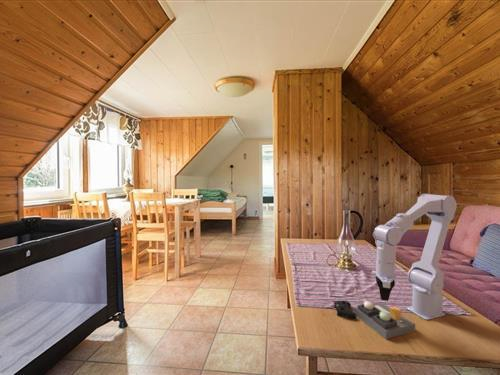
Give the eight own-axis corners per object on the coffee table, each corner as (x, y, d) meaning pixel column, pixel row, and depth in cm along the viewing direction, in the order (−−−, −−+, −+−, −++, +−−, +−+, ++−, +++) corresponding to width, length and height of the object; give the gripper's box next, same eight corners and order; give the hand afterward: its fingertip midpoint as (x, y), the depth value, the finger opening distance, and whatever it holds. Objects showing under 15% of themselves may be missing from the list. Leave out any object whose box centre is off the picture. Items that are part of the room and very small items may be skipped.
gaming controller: (358, 318, 87) (346, 305, 87) (347, 327, 88) (334, 315, 88) (351, 303, 97) (340, 292, 97) (341, 312, 97) (330, 301, 98)
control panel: (380, 308, 94) (380, 298, 94) (414, 331, 81) (415, 319, 81) (354, 314, 91) (354, 304, 90) (386, 339, 77) (386, 327, 77)
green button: (384, 316, 83) (384, 310, 83) (392, 321, 80) (392, 315, 80) (377, 317, 82) (377, 312, 82) (384, 322, 79) (385, 317, 79)
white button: (368, 305, 90) (368, 300, 90) (375, 309, 87) (375, 304, 87) (362, 306, 89) (362, 301, 89) (368, 311, 86) (368, 306, 86)
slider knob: (394, 314, 85) (395, 306, 85) (400, 318, 83) (401, 310, 83) (389, 315, 85) (389, 307, 84) (395, 319, 82) (395, 311, 82)
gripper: (372, 252, 92) (371, 288, 93) (373, 266, 79) (371, 307, 80) (394, 255, 89) (392, 291, 90) (398, 270, 76) (396, 312, 77)
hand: (384, 299), depth 85 cm, fingers closed
